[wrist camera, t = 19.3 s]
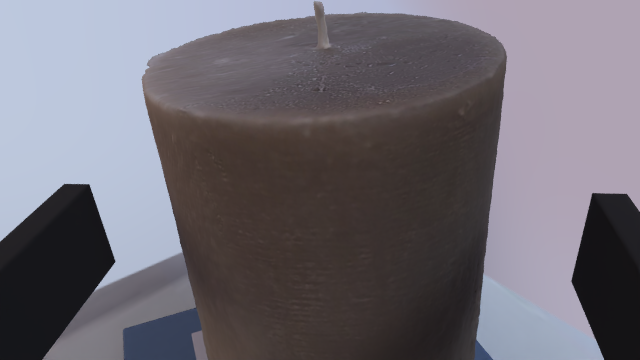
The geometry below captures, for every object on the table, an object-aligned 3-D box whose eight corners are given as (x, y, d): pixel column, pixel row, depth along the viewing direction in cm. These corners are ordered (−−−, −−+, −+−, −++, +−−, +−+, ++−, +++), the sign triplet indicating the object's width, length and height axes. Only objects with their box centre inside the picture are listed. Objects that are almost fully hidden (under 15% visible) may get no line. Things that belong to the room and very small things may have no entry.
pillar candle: (502, 506, 16) (602, 33, 9) (199, 519, 17) (46, 69, 9) (438, 294, 25) (461, -38, 17) (238, 305, 25) (176, -19, 17)
